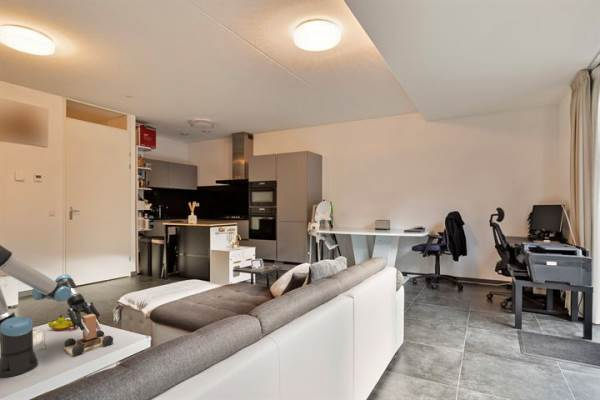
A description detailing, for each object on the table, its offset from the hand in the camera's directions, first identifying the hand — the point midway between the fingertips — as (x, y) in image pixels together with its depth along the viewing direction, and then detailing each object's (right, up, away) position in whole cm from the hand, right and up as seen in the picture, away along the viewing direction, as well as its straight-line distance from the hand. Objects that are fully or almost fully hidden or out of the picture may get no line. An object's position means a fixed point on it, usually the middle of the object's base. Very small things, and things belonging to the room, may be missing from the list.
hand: (93, 331), depth 176 cm
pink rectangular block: (-3, -4, +1) cm, 5 cm away
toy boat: (-36, -10, +27) cm, 46 cm away
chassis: (-3, -9, +1) cm, 9 cm away
